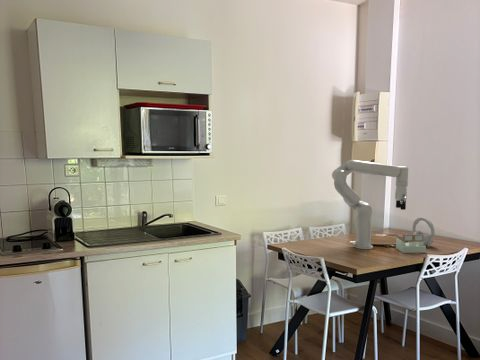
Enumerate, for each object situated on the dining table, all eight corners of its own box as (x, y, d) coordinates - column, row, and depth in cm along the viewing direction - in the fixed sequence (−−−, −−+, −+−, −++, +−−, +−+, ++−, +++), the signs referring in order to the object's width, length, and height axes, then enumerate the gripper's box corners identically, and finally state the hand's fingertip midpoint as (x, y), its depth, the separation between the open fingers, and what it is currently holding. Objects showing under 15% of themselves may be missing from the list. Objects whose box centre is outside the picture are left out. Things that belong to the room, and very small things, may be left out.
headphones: (437, 247, 268) (438, 219, 266) (428, 248, 265) (428, 220, 264) (417, 242, 286) (418, 215, 285) (408, 242, 283) (409, 216, 282)
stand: (395, 248, 267) (396, 238, 267) (417, 248, 267) (417, 238, 266) (402, 252, 255) (403, 242, 255) (425, 252, 255) (425, 242, 254)
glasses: (396, 237, 269) (396, 231, 269) (415, 237, 269) (415, 231, 268) (403, 241, 256) (403, 234, 256) (423, 241, 256) (423, 234, 256)
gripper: (392, 183, 276) (391, 206, 277) (400, 184, 259) (399, 210, 260) (402, 183, 275) (401, 207, 276) (411, 185, 258) (410, 210, 259)
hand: (400, 208), depth 268 cm, fingers open, 9 cm apart
